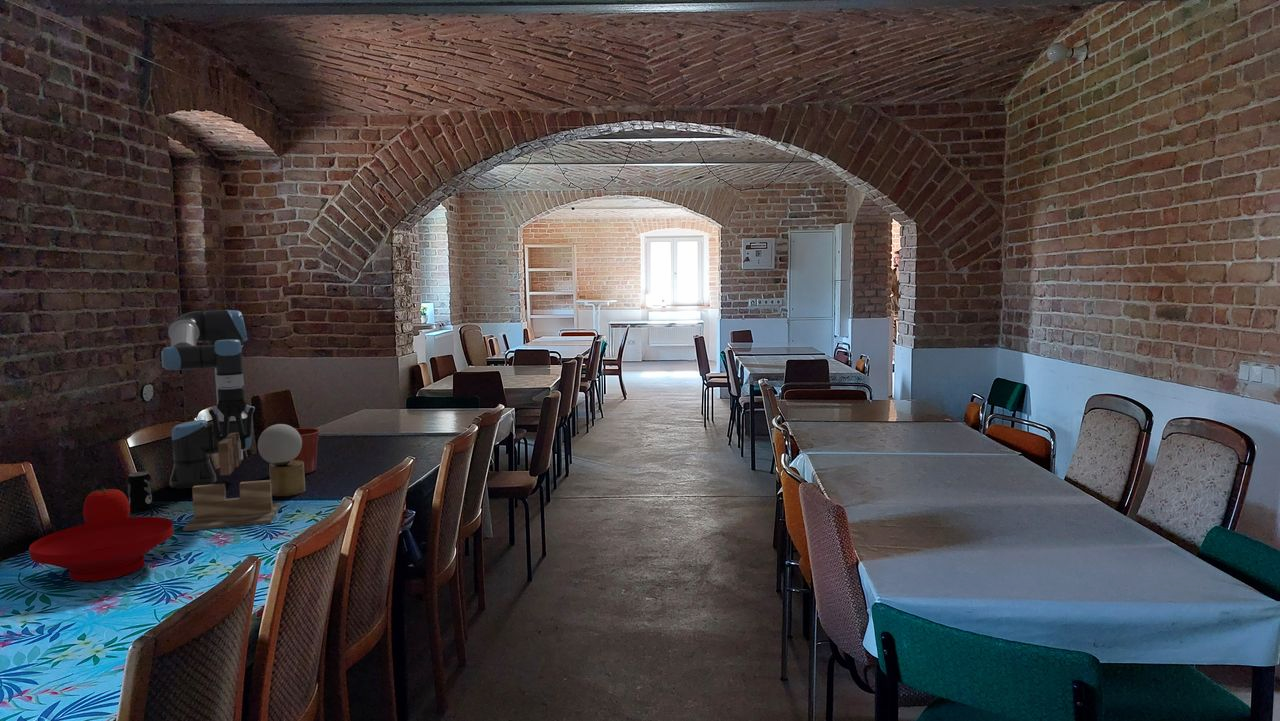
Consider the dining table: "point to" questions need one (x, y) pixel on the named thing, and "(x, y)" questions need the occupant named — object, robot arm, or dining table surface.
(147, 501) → the beverage can
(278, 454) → the lamp
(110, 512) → the tomato
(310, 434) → the flower pot
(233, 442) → the walnut plate
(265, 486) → the wooden joinery piece
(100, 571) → the bowl
